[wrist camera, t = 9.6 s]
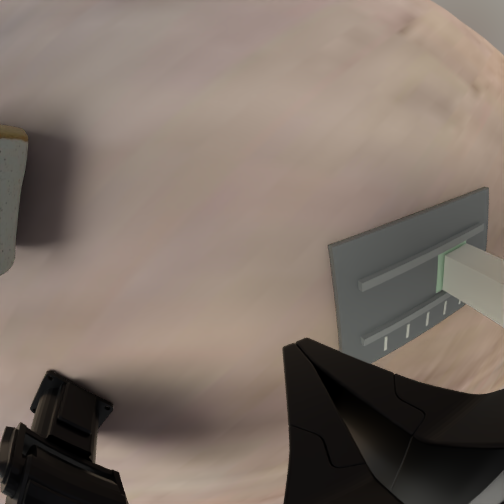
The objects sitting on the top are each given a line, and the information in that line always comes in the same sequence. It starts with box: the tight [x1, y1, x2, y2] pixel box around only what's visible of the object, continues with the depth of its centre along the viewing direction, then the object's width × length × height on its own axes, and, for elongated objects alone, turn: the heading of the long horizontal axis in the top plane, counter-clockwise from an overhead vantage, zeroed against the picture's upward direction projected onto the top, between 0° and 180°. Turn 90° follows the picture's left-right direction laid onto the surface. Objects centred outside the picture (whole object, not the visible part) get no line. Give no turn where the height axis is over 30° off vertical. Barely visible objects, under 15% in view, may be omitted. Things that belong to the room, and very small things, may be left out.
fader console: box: [328, 187, 489, 364], centre depth 26 cm, size 22×14×1 cm, turn 103°
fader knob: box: [442, 243, 504, 328], centre depth 22 cm, size 4×4×10 cm
